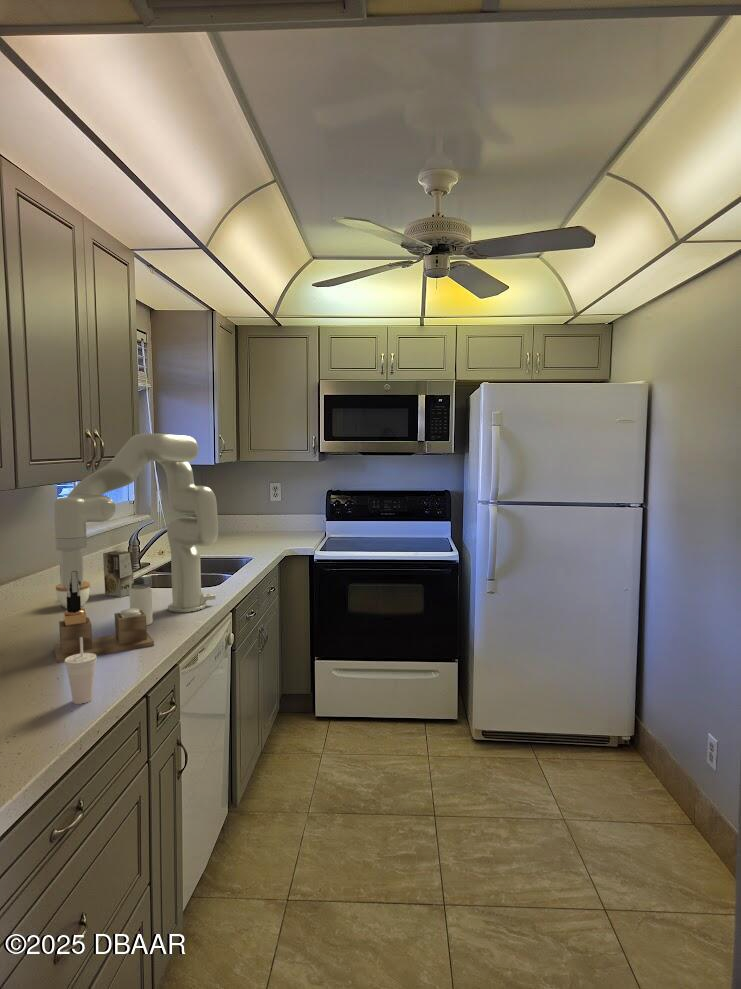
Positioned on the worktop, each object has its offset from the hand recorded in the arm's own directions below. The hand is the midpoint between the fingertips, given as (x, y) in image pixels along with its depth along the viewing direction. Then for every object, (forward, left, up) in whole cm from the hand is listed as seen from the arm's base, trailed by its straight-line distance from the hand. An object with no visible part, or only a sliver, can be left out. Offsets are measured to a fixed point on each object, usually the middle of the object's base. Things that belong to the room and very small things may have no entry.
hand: (74, 610), depth 158 cm
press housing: (-7, 0, -12) cm, 13 cm away
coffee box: (-20, -61, -12) cm, 66 cm away
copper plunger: (0, 0, -8) cm, 8 cm away
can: (-20, -17, -12) cm, 29 cm away
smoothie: (+2, +35, -12) cm, 37 cm away
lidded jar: (-4, -52, -12) cm, 54 cm away
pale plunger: (-14, 0, -10) cm, 17 cm away
